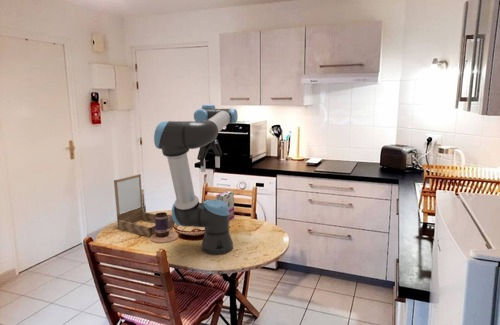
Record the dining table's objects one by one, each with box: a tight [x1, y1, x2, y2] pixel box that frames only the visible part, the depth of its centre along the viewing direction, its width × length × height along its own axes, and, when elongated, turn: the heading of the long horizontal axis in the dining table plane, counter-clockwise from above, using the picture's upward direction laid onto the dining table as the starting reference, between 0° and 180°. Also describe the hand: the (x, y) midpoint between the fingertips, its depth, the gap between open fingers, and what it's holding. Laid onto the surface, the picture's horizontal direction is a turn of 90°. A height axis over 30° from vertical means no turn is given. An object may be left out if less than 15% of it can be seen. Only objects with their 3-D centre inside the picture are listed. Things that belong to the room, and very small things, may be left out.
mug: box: [154, 212, 174, 237], centre depth 183 cm, size 10×7×12 cm
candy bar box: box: [216, 190, 235, 221], centre depth 210 cm, size 11×5×16 cm, turn 147°
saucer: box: [150, 230, 179, 244], centre depth 184 cm, size 14×14×1 cm
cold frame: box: [116, 188, 175, 238], centre depth 198 cm, size 26×18×19 cm
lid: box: [113, 174, 143, 216], centre depth 203 cm, size 1×18×20 cm, turn 149°
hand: (210, 169), depth 201 cm, fingers open, 13 cm apart
